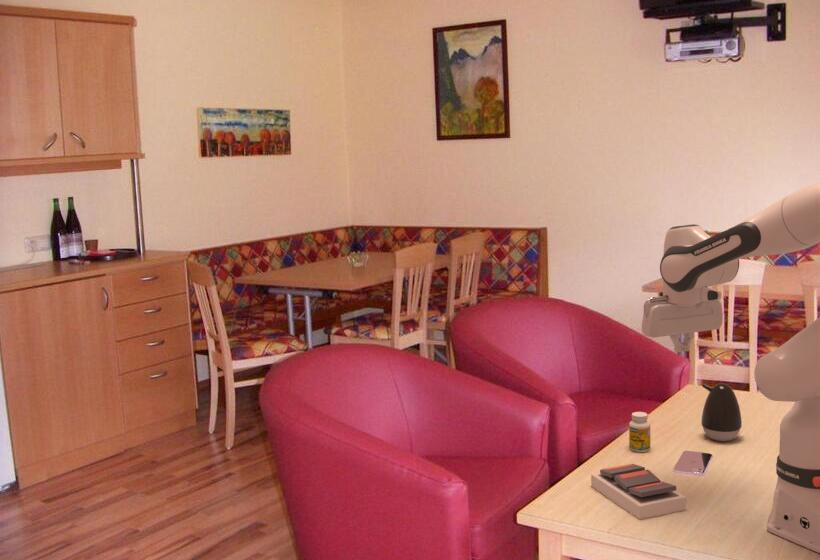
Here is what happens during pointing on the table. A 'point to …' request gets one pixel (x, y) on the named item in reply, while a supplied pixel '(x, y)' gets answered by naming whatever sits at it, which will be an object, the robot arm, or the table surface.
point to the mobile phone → (693, 463)
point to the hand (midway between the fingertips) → (681, 351)
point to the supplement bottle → (639, 432)
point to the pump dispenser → (721, 413)
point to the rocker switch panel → (638, 498)
